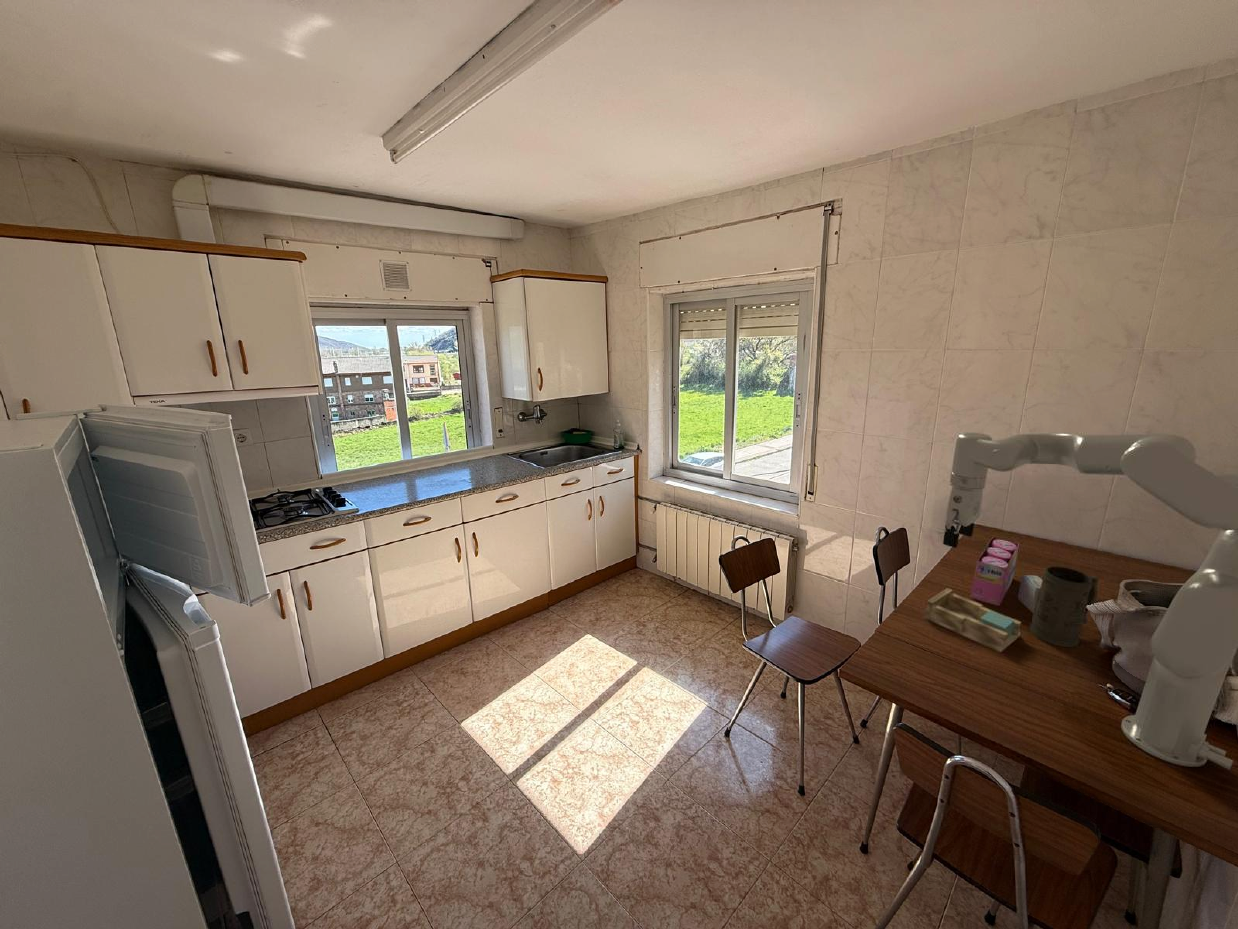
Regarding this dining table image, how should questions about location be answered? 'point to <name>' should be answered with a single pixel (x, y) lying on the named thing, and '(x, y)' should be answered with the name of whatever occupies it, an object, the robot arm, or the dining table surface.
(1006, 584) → the gum box
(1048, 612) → the beer stein
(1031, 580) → the medicine box
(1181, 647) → the robot arm
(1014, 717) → the dining table surface
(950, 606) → the chute
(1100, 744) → the dining table surface
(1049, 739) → the dining table surface
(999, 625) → the block
